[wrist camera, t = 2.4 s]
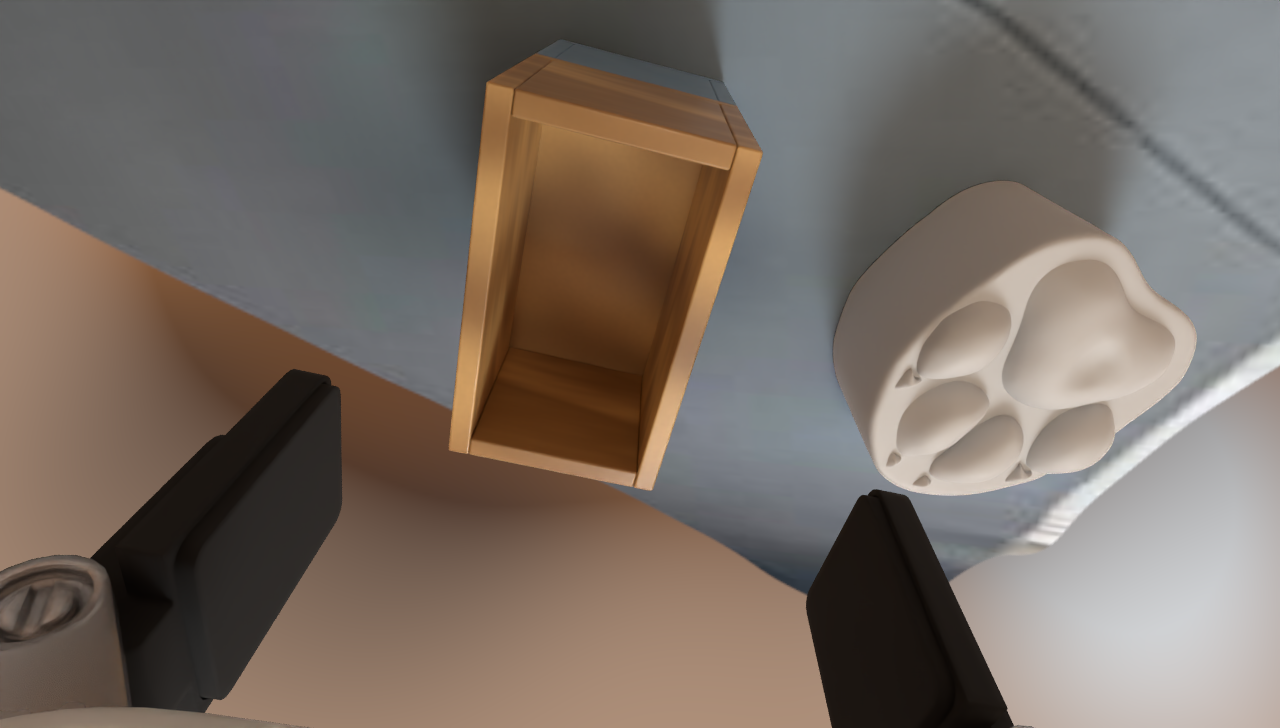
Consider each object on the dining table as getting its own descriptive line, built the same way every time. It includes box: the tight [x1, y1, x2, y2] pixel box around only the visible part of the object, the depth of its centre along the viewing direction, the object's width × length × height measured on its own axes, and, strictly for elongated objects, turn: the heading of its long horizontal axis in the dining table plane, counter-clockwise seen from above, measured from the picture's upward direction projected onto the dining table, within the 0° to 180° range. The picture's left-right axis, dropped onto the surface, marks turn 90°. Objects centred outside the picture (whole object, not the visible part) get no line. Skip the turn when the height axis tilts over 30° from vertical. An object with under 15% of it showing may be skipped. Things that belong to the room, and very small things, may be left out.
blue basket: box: [536, 39, 736, 105], centre depth 28 cm, size 12×7×6 cm, turn 167°
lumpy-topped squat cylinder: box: [833, 181, 1197, 495], centre depth 29 cm, size 10×13×9 cm
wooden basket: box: [449, 54, 763, 491], centre depth 22 cm, size 12×7×7 cm, turn 167°
